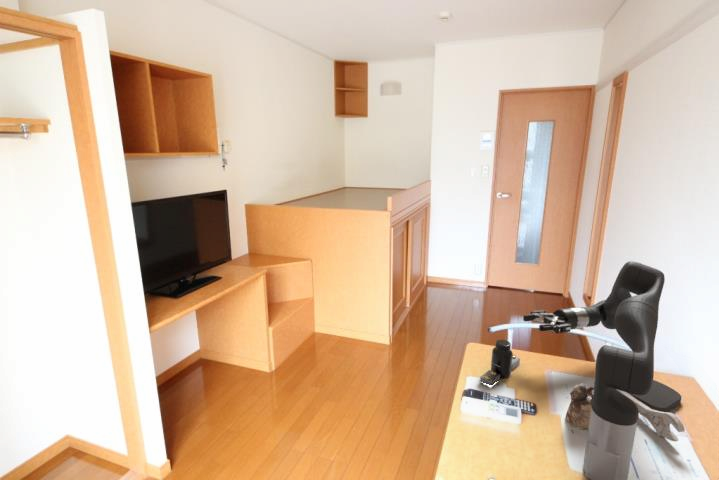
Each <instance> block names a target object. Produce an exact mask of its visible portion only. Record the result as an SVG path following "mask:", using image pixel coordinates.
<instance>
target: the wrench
mask: <svg viewBox="0 0 719 480" xmlns="http://www.w3.org/2000/svg"><path fill="white" fill-rule="evenodd" d="M616 390H617V389H616ZM617 391H619V392H620V393H622V394H623V395H625V396H626V397H628V398H629V399H631V400H632V401H633V402H634V403H635V404H636V406H637V408H638V411H639V415H641V416H643V417H644V418H645V419H646V420H647V421H648V422H649V423H650V425H651V426H652V427H653V429H654V430H655V432H656V435H657V437H663V438H665V439H666V440H669V441H672V442H678V441H679V438H678V436H677V435H676V434H675V433H674V431H672V430H671V426H672V427H673V428H674V429H675V430H676V431H677V433H683V432H684V433H685V430H686V429H685V426H684V424H683V422H682V421H681V419H680V418H679V417H678V416H677V415H675V413H672V412H660V411H657V410H653V409H651V408H649V407H648V406H646V405H645V404H643V403H642V402H640V401H639V400H637V399H636V398H634V397H633V396H631V395H630V394H628V393H627V392H624V391H621V390H617Z"/></svg>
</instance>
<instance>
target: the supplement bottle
mask: <svg viewBox="0 0 719 480" xmlns="http://www.w3.org/2000/svg"><path fill="white" fill-rule="evenodd" d="M513 355H514V353H513V351H512V350H511V342H510V341H509V340H506V339H497V340H496V341H495V347H493V348H492V351H491V361H490V363H491V364H490V370H491V371H495V372H496V373H498V374H500V379H507V378H509V377H510V376H511V375H512V371H511V368H512V357H513Z"/></svg>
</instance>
